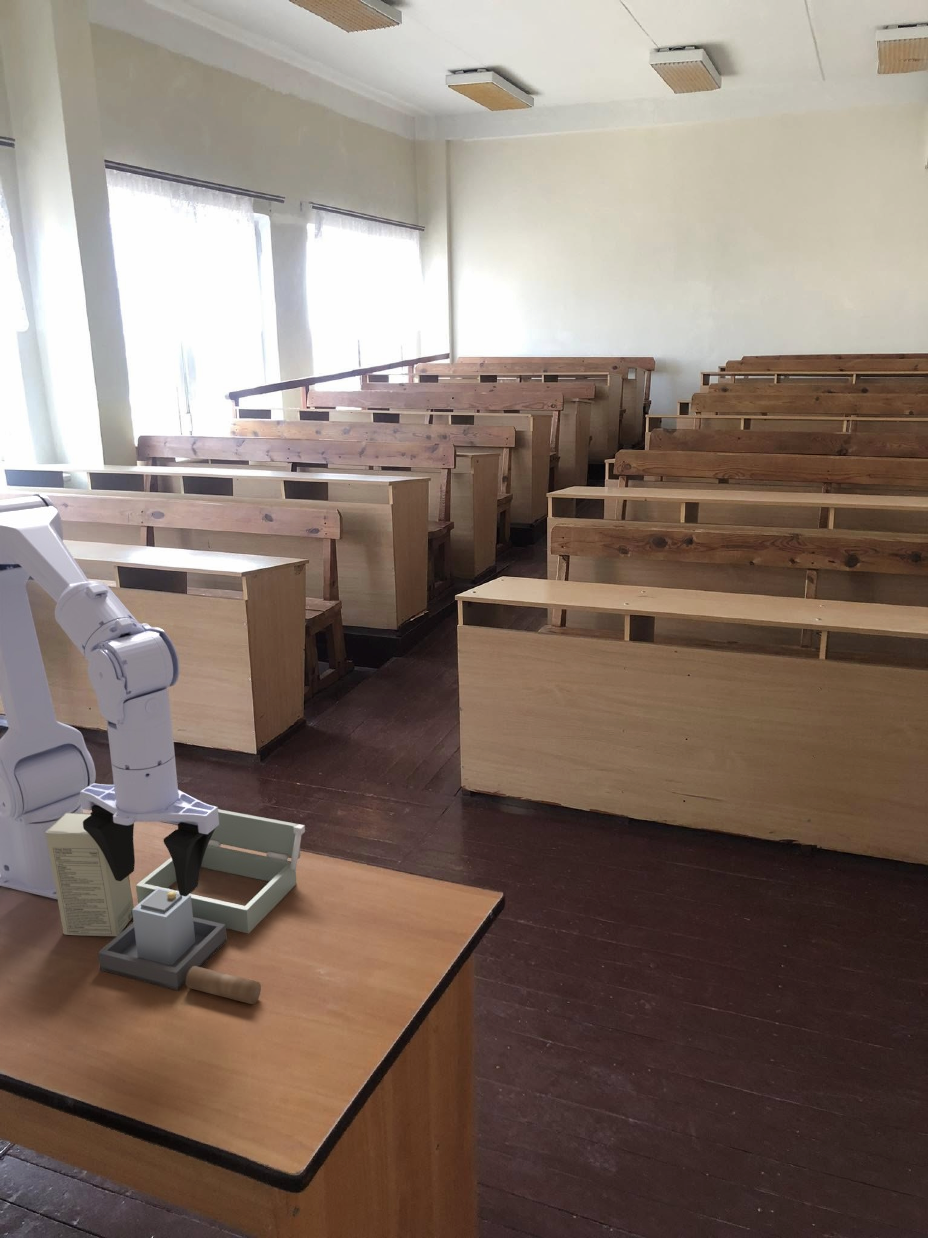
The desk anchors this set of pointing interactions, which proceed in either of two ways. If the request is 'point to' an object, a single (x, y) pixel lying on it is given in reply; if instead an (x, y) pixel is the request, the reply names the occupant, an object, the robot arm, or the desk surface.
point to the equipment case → (241, 867)
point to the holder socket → (127, 963)
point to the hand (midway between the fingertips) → (156, 883)
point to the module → (163, 926)
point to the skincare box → (86, 882)
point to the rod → (223, 985)
